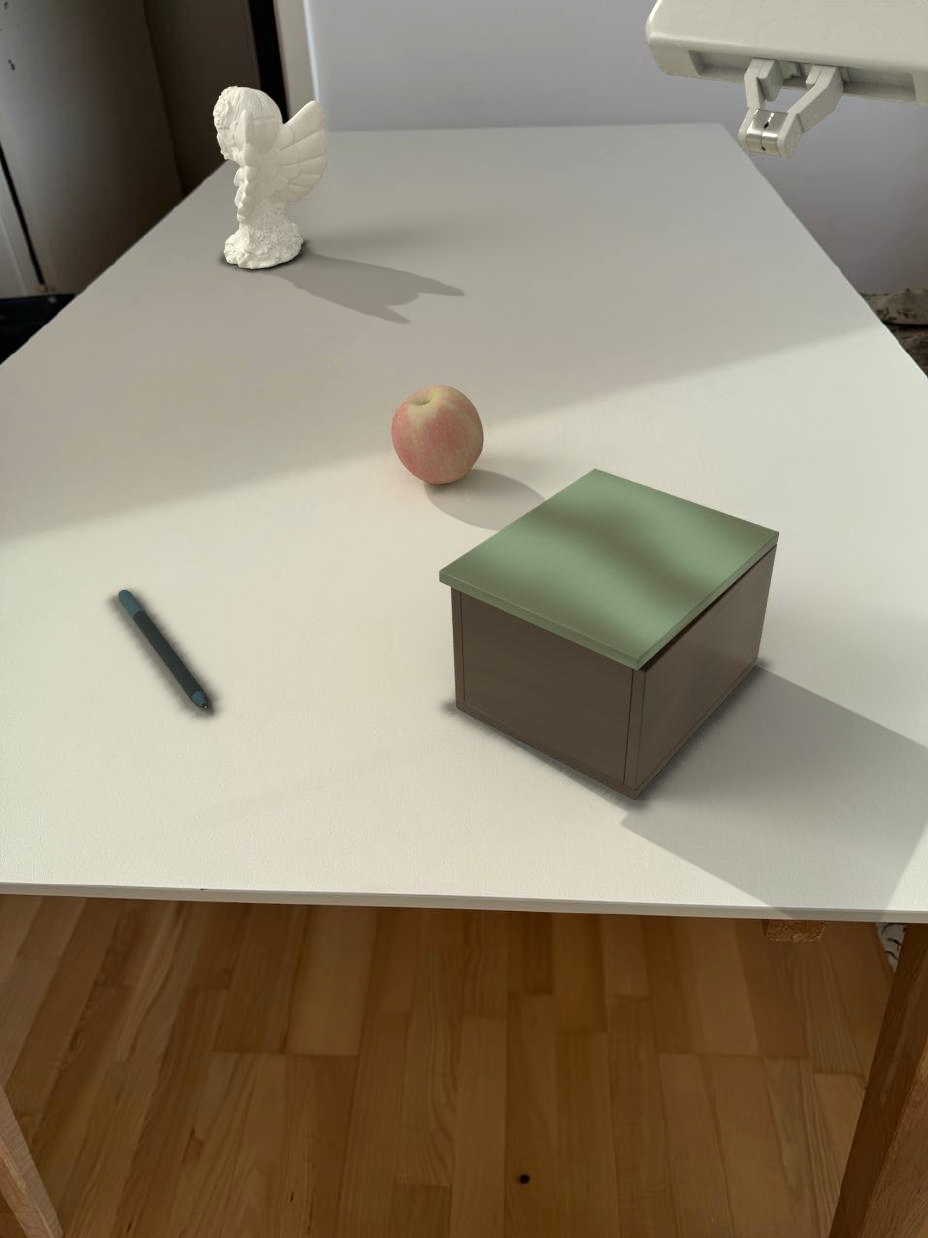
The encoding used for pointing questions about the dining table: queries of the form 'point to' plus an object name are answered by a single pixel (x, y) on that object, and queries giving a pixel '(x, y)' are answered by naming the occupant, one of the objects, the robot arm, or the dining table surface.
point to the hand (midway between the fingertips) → (763, 148)
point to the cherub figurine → (268, 171)
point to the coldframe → (606, 682)
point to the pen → (163, 648)
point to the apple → (437, 434)
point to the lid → (611, 565)
